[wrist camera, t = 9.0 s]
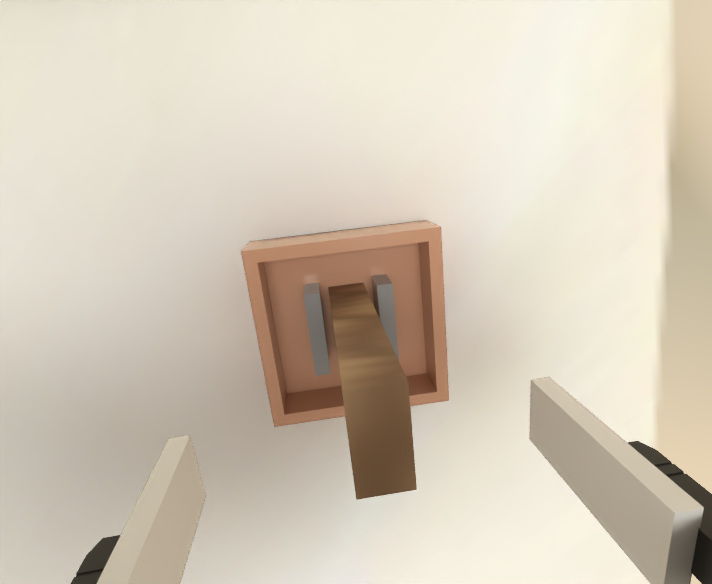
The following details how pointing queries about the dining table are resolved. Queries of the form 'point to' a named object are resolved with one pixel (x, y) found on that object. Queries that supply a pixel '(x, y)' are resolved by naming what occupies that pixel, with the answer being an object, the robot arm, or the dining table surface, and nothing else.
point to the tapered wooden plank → (372, 396)
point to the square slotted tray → (314, 318)
